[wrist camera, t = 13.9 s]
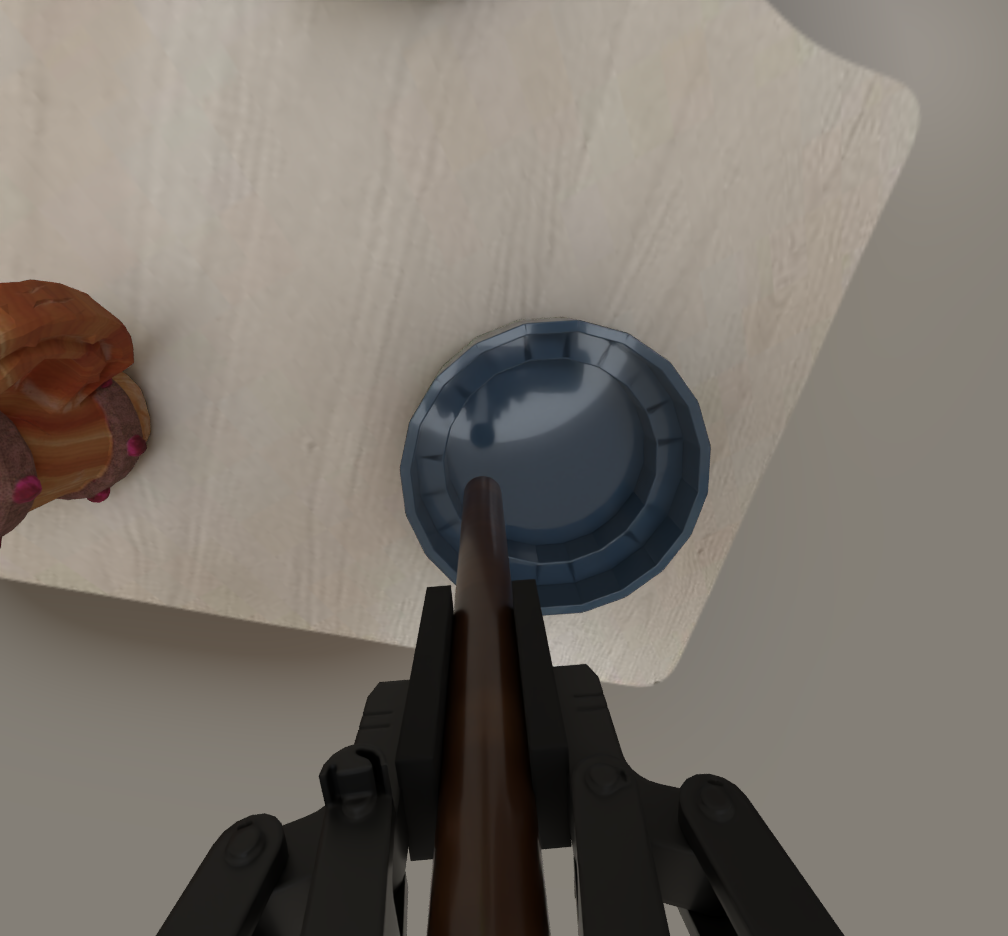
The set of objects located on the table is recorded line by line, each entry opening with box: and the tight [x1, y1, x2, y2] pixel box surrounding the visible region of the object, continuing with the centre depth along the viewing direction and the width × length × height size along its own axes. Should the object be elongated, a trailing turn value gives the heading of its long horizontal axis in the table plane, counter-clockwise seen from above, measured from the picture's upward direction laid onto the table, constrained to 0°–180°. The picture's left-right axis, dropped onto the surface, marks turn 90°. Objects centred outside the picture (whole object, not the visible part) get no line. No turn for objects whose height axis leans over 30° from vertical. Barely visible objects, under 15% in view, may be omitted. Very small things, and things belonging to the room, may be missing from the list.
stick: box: [427, 476, 551, 936], centre depth 17 cm, size 2×2×22 cm
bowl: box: [400, 317, 711, 616], centre depth 32 cm, size 17×17×6 cm
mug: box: [0, 280, 151, 548], centre depth 25 cm, size 15×8×15 cm, turn 136°
